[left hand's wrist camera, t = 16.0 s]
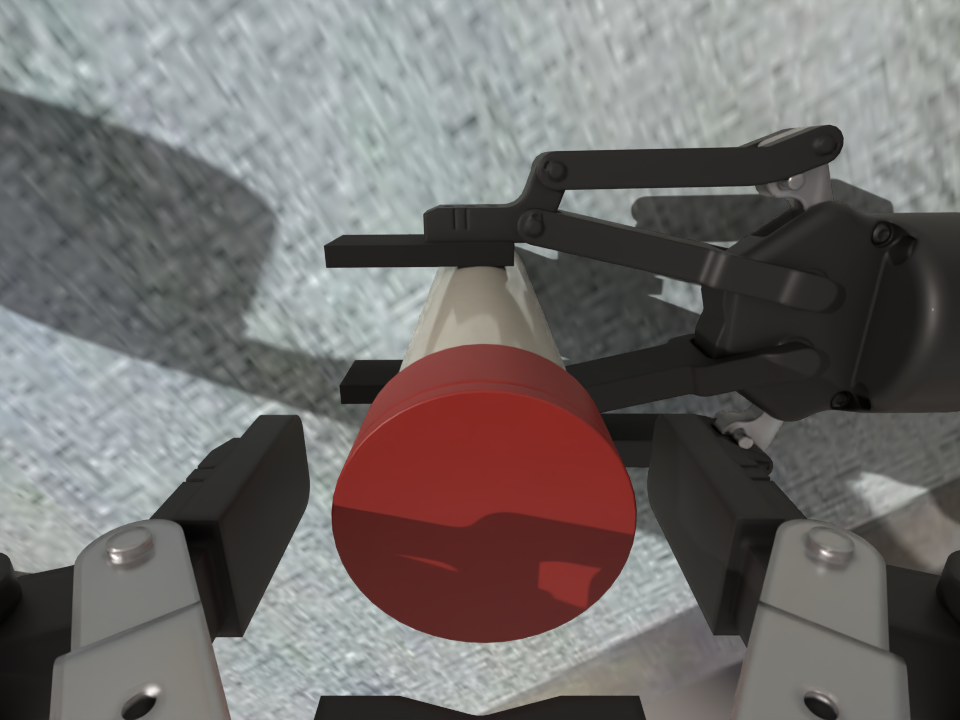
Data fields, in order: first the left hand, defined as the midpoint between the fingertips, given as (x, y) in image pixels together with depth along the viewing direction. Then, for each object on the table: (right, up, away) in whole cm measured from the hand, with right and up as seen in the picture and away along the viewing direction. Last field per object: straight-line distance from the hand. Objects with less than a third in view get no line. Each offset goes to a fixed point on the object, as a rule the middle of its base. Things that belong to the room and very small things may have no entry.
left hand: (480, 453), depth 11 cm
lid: (0, -1, -2) cm, 2 cm away
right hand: (-5, +4, +9) cm, 11 cm away
